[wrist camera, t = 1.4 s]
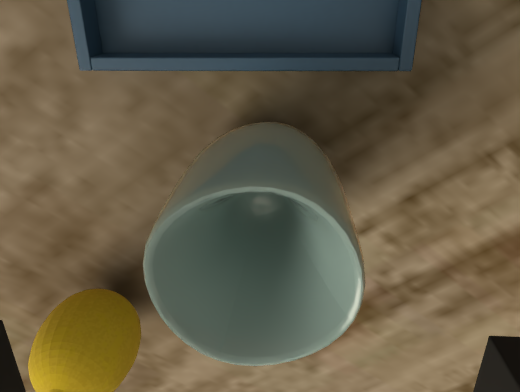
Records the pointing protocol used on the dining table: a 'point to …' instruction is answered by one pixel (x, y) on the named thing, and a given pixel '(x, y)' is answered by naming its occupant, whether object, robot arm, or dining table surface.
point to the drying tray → (245, 35)
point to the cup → (256, 250)
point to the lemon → (85, 344)
